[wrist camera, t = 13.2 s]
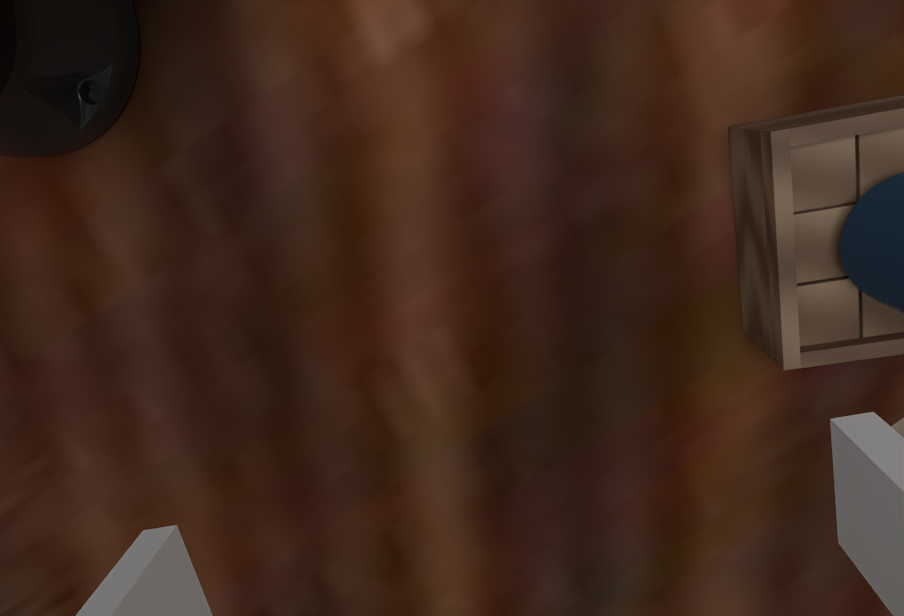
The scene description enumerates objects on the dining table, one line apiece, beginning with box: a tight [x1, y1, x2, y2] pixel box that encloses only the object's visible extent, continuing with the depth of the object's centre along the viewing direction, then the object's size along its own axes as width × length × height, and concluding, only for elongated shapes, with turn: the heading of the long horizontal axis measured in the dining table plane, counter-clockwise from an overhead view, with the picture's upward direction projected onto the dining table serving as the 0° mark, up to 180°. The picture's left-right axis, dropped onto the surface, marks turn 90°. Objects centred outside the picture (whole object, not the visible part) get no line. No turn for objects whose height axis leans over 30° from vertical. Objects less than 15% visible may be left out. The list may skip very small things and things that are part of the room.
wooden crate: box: [728, 95, 904, 370], centre depth 39 cm, size 13×13×7 cm
